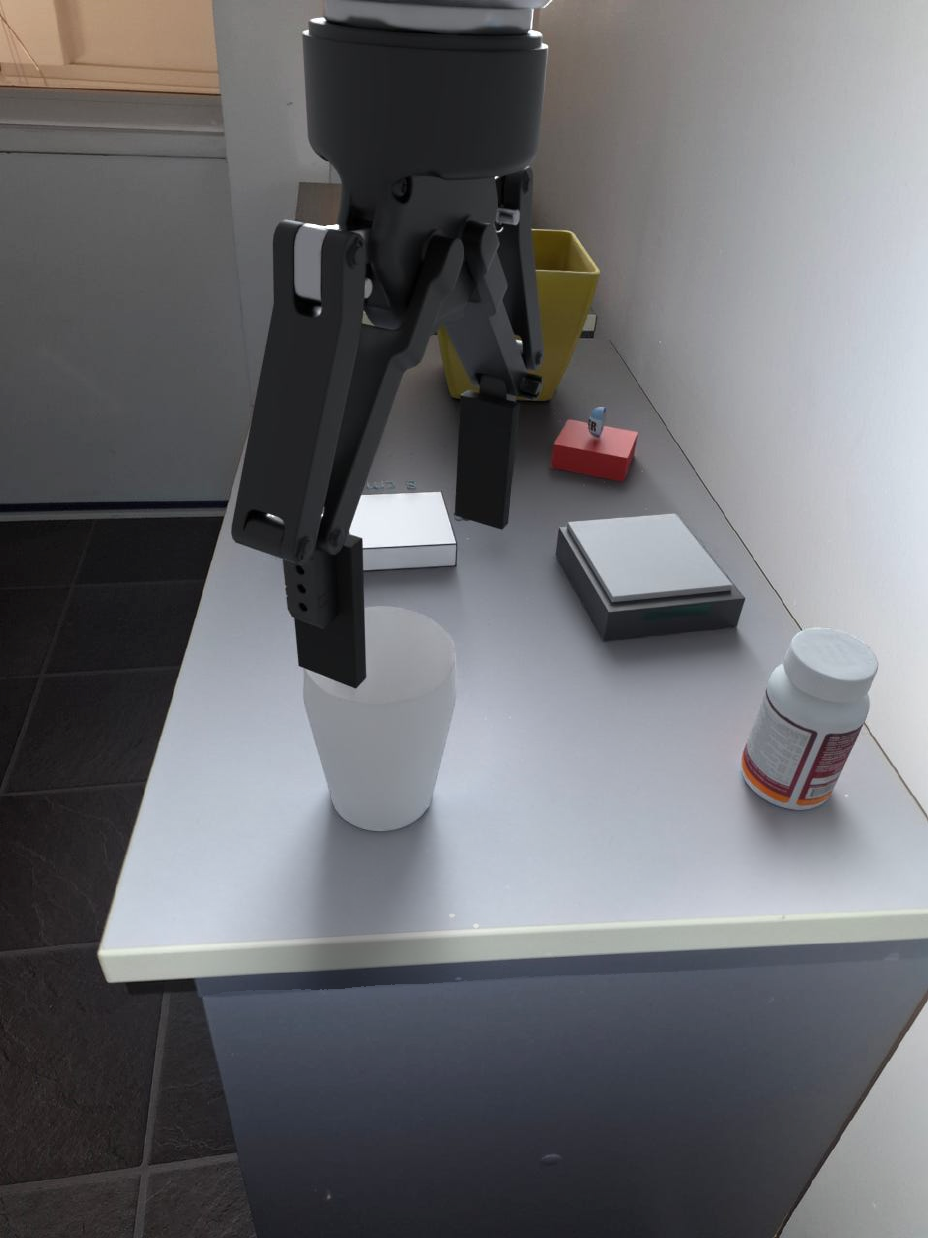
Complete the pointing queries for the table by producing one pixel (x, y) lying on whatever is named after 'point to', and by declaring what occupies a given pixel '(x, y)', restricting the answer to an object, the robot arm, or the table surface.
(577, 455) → the red rectangular block
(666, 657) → the table surface
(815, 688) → the pill bottle
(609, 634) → the scale
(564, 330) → the flower pot
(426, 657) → the cup
